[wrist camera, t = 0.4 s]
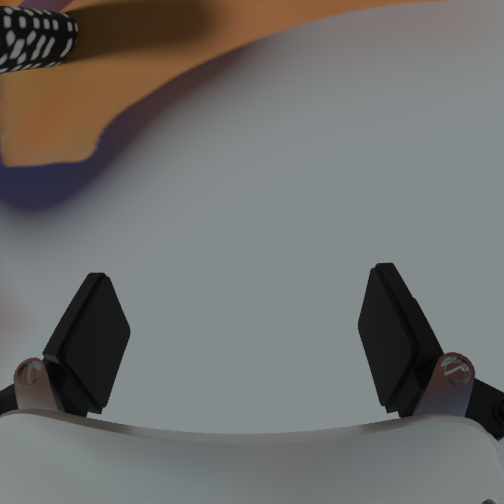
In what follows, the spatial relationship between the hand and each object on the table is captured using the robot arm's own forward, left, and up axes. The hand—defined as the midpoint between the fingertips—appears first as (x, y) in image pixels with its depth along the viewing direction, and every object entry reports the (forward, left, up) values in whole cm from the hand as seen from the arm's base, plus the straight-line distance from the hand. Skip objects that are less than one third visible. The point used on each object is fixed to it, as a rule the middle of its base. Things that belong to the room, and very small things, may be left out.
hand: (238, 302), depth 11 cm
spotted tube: (-17, -27, -31) cm, 44 cm away
